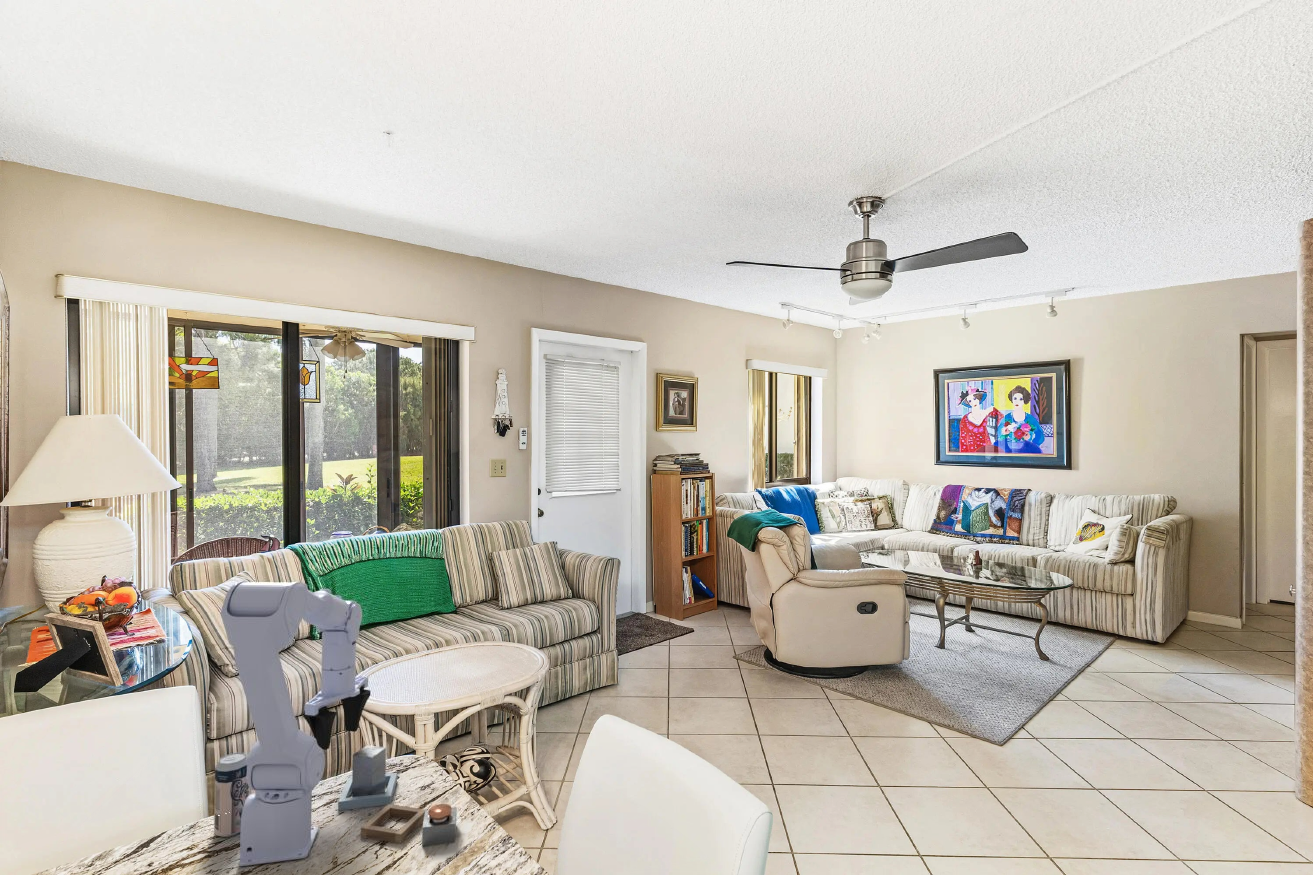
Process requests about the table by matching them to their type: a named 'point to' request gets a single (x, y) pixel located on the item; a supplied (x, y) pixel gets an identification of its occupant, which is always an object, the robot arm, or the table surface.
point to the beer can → (230, 794)
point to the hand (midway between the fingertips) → (337, 739)
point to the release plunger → (439, 813)
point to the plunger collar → (439, 830)
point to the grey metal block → (369, 771)
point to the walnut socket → (388, 834)
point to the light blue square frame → (367, 800)
